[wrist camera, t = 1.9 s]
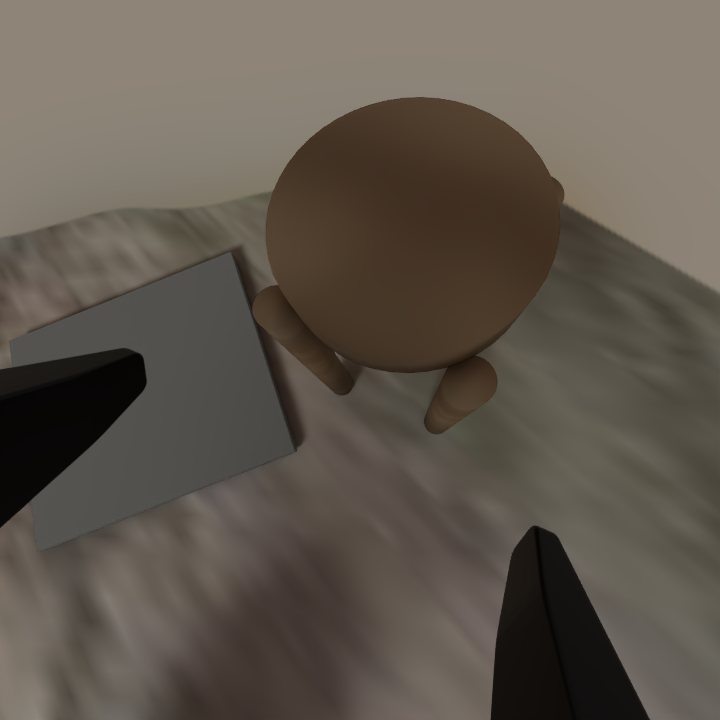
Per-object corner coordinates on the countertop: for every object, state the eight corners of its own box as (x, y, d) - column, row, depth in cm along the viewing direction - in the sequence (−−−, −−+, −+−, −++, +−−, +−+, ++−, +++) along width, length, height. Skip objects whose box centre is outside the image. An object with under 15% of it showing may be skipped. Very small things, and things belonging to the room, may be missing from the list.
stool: (443, 437, 20) (502, 405, 8) (326, 390, 21) (218, 297, 9) (486, 322, 21) (597, 134, 9) (373, 284, 22) (333, 72, 10)
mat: (297, 451, 20) (294, 450, 20) (46, 549, 21) (37, 552, 20) (234, 255, 23) (230, 251, 23) (17, 343, 24) (9, 340, 23)
